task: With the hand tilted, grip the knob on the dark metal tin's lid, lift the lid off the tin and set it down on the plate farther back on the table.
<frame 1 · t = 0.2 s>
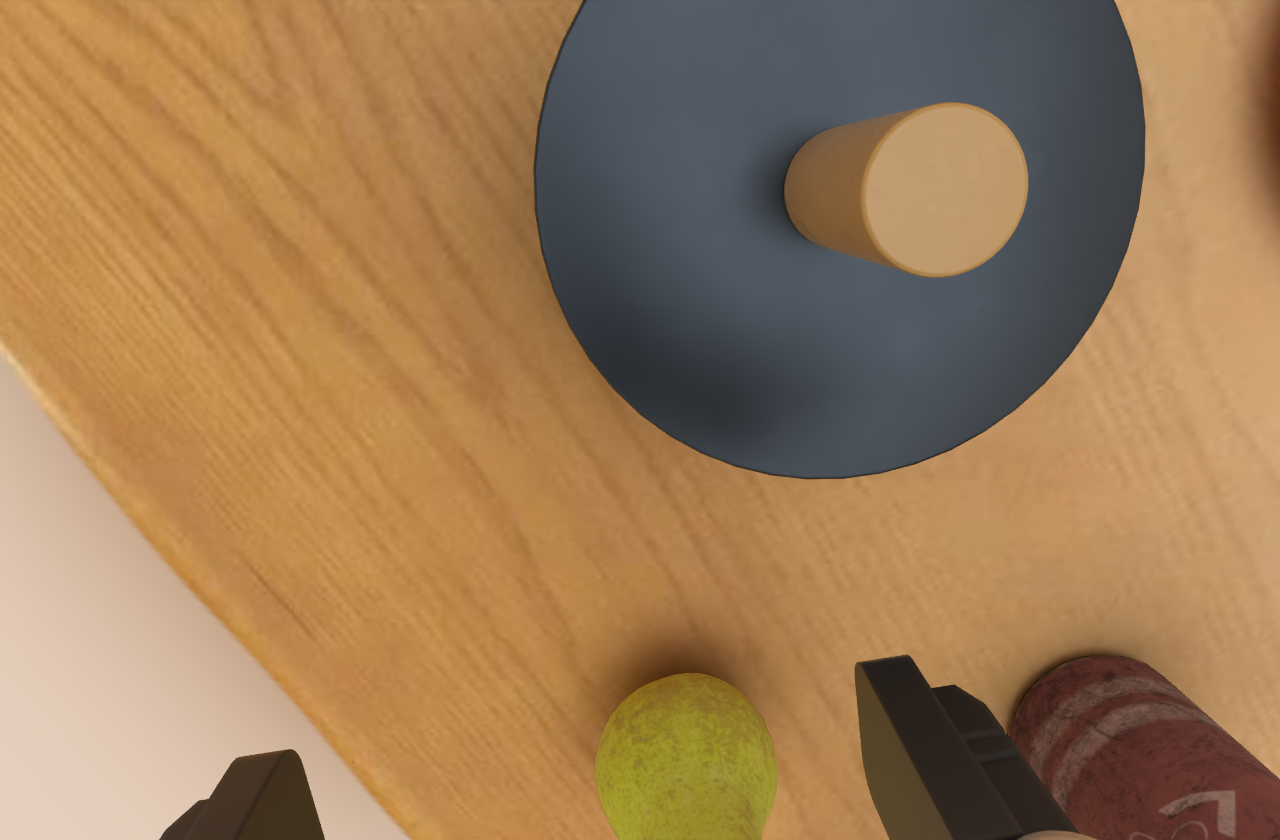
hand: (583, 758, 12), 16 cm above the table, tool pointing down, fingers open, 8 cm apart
can: (1084, 722, 32), on the table
lid: (835, 188, 18), point 8 cm above the table, touching tin
fruit: (678, 704, 31), on the table
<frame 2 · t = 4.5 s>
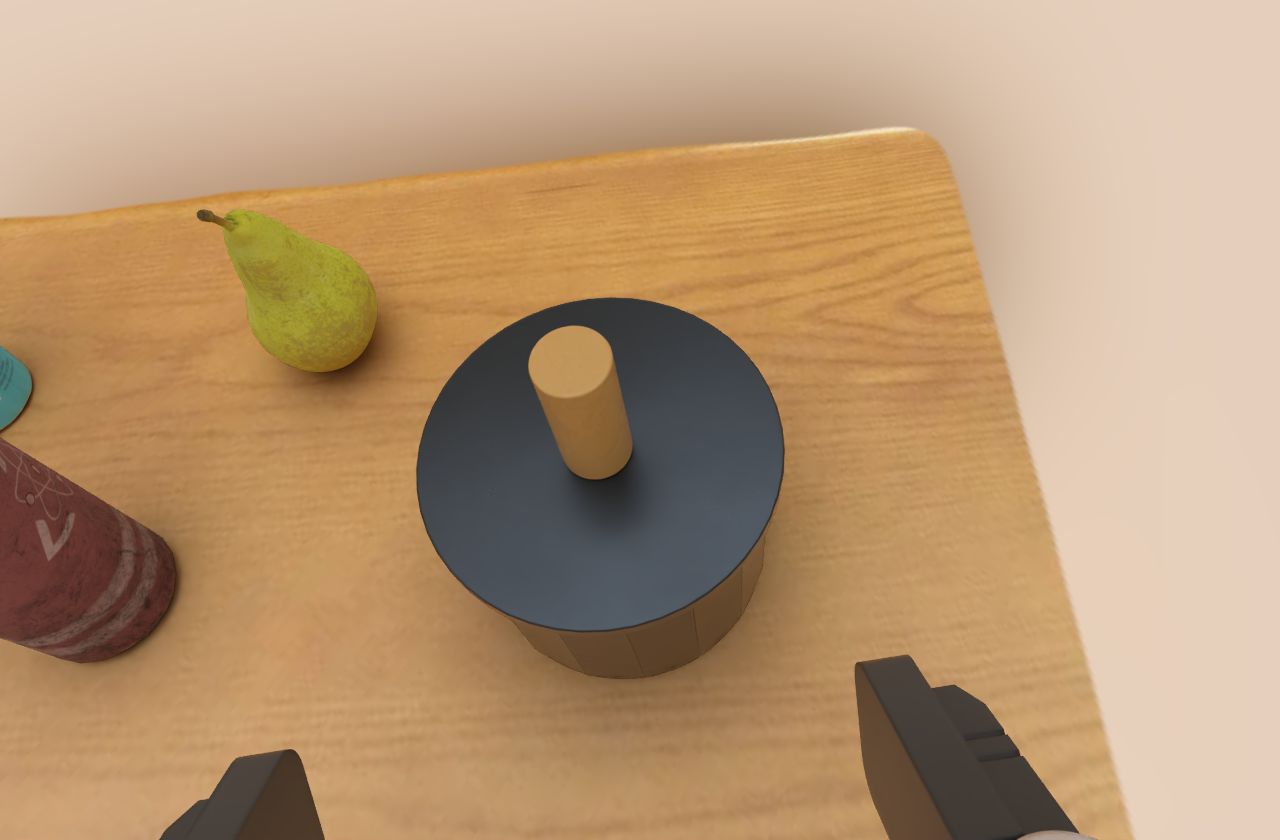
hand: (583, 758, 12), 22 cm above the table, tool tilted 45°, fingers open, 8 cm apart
tin: (626, 542, 37), on the table
can: (114, 596, 38), on the table
lid: (599, 455, 30), point 8 cm above the table, touching tin
fruit: (343, 348, 44), on the table
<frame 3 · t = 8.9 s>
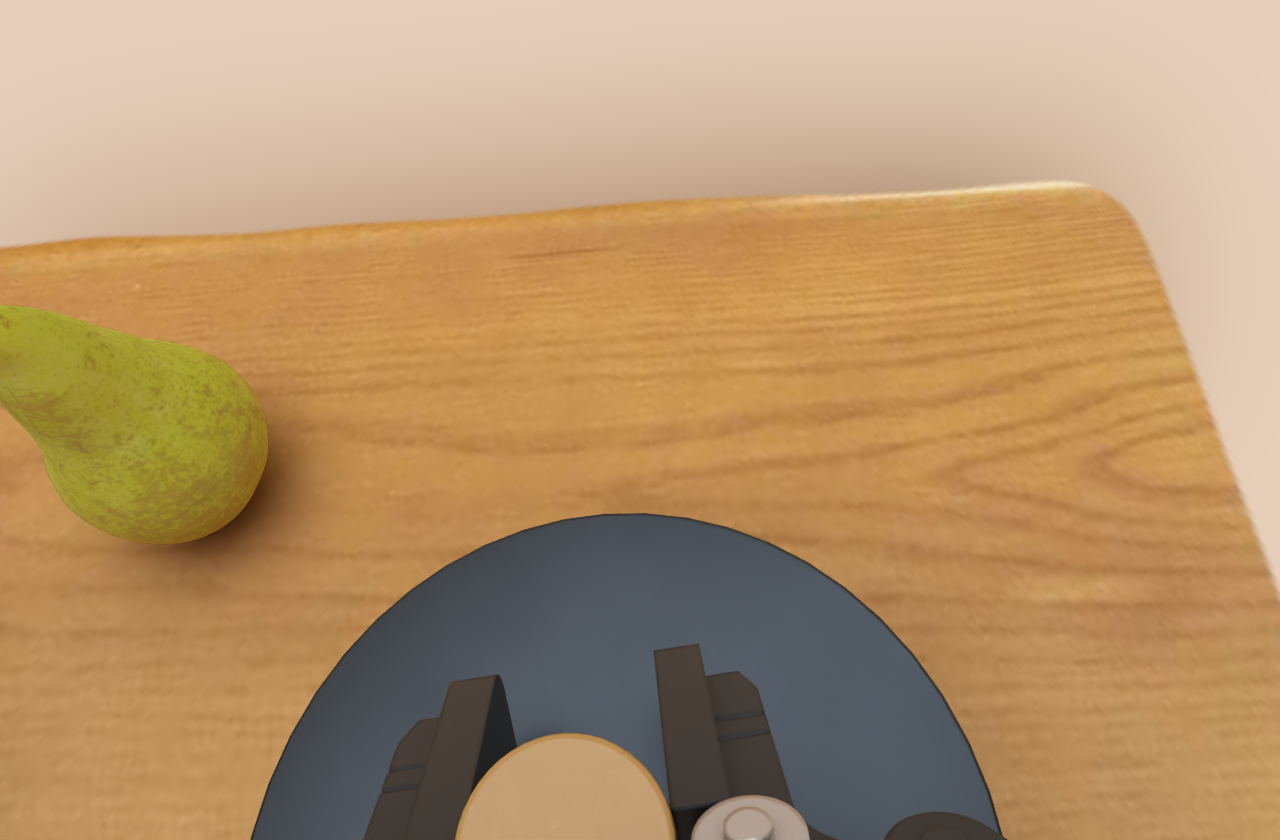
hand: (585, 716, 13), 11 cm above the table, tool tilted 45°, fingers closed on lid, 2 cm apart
fruit: (220, 493, 28), on the table
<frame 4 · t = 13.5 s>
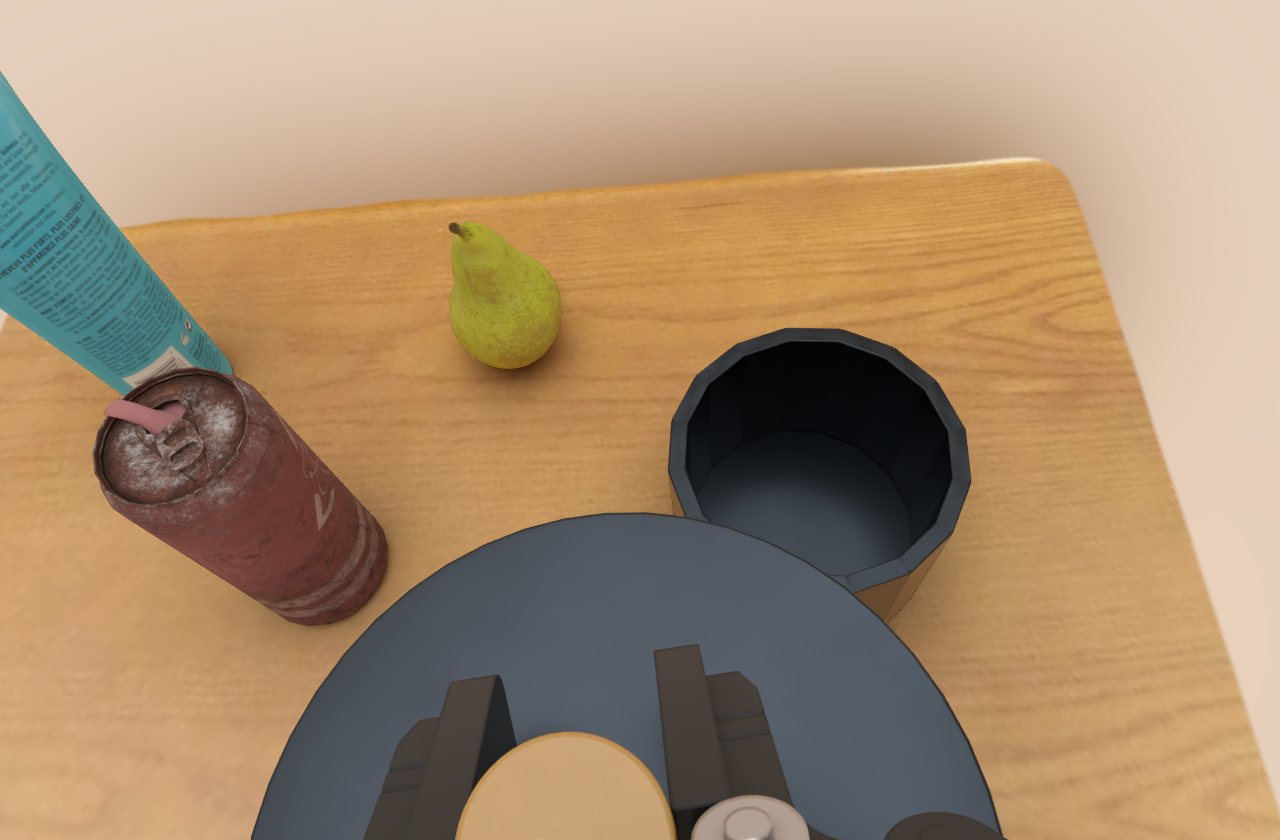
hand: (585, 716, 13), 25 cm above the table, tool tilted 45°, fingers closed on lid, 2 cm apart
tube: (190, 389, 48), on the table
tin: (799, 530, 41), on the table
can: (328, 567, 42), on the table
fruit: (520, 347, 48), on the table
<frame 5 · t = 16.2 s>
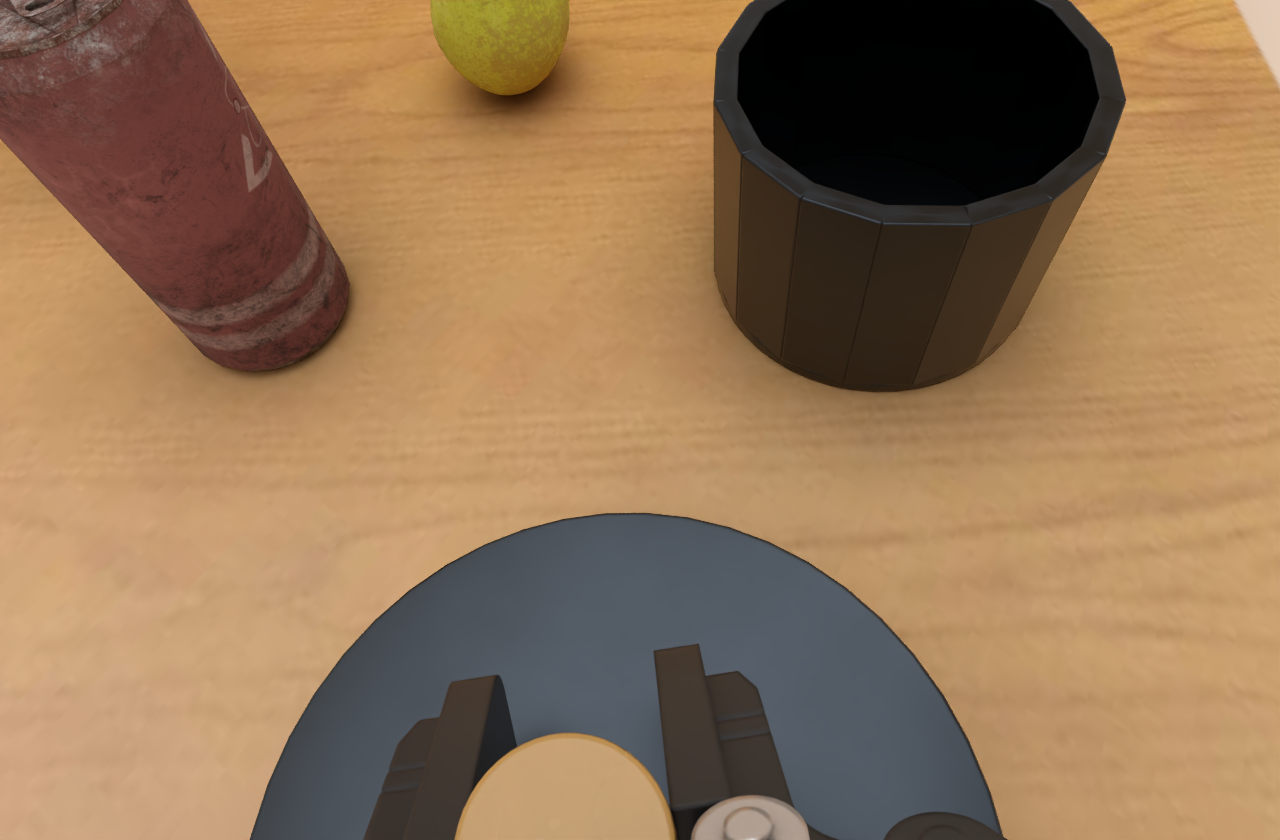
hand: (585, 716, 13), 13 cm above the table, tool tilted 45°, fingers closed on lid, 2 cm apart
tin: (867, 261, 33), on the table
can: (275, 313, 34), on the table
fruit: (517, 83, 39), on the table
when the fingers open (5 cm above the table, at t = 18.1 s): lid stays where it is, resting on plate.
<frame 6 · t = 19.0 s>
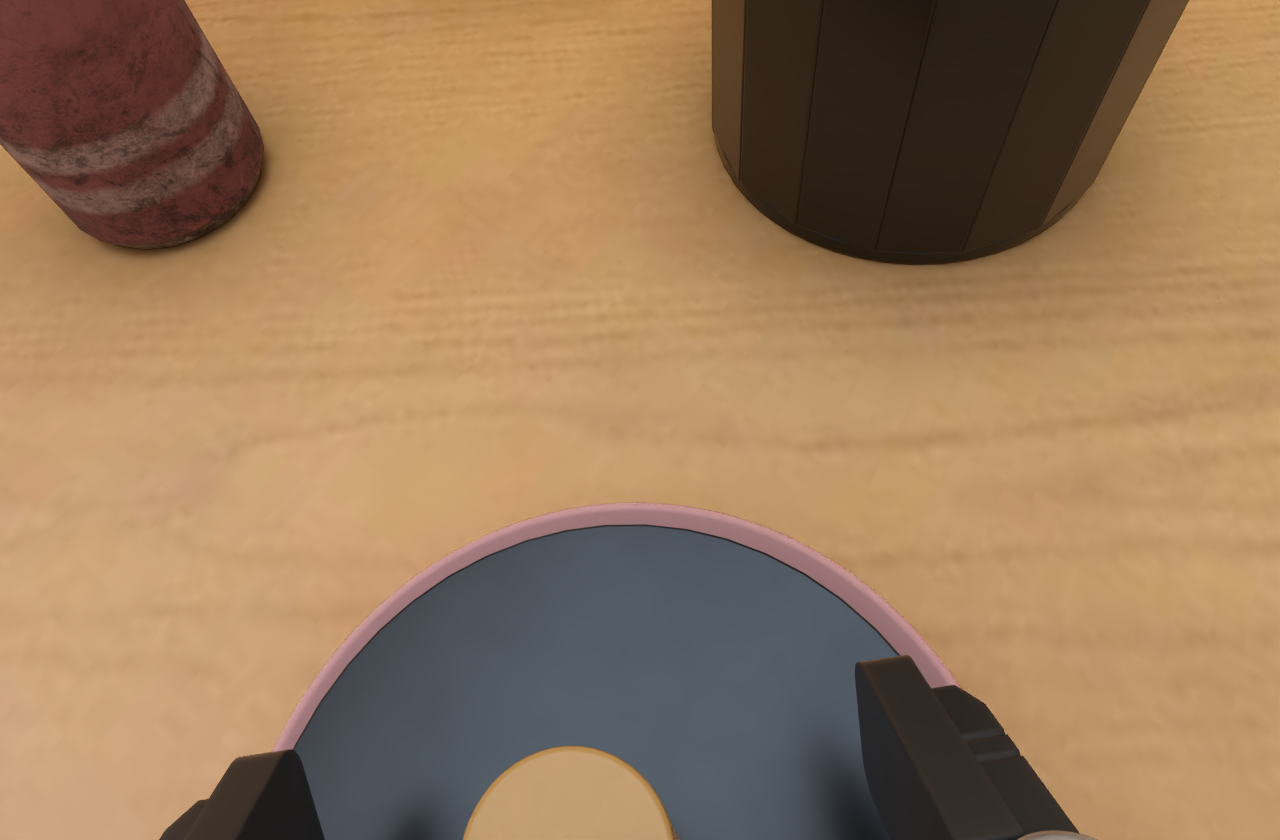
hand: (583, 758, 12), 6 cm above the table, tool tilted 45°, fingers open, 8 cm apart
tin: (901, 117, 26), on the table
can: (175, 186, 28), on the table
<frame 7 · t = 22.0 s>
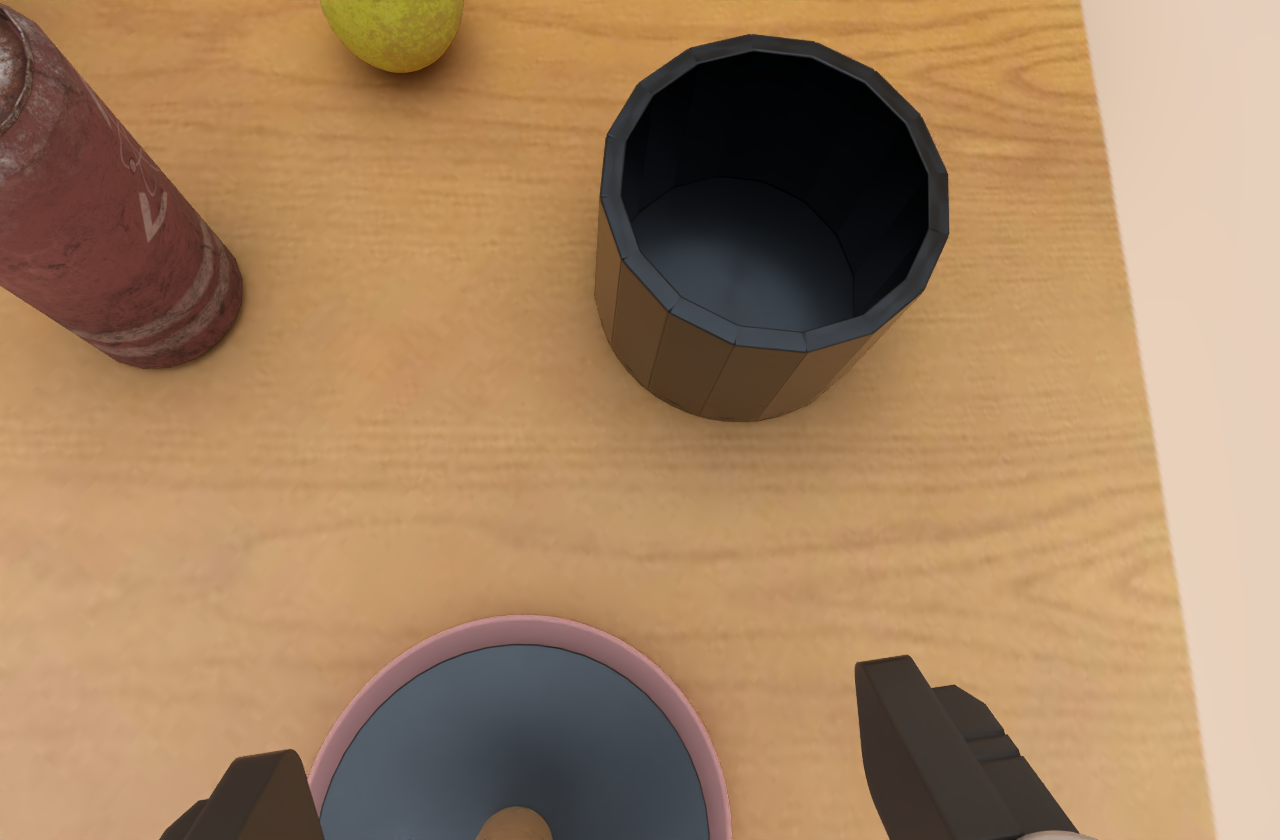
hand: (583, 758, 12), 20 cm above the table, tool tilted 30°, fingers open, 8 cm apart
tin: (732, 290, 36), on the table
can: (167, 301, 35), on the table
plate: (520, 825, 31), on the table, touching lid
fruit: (408, 50, 39), on the table
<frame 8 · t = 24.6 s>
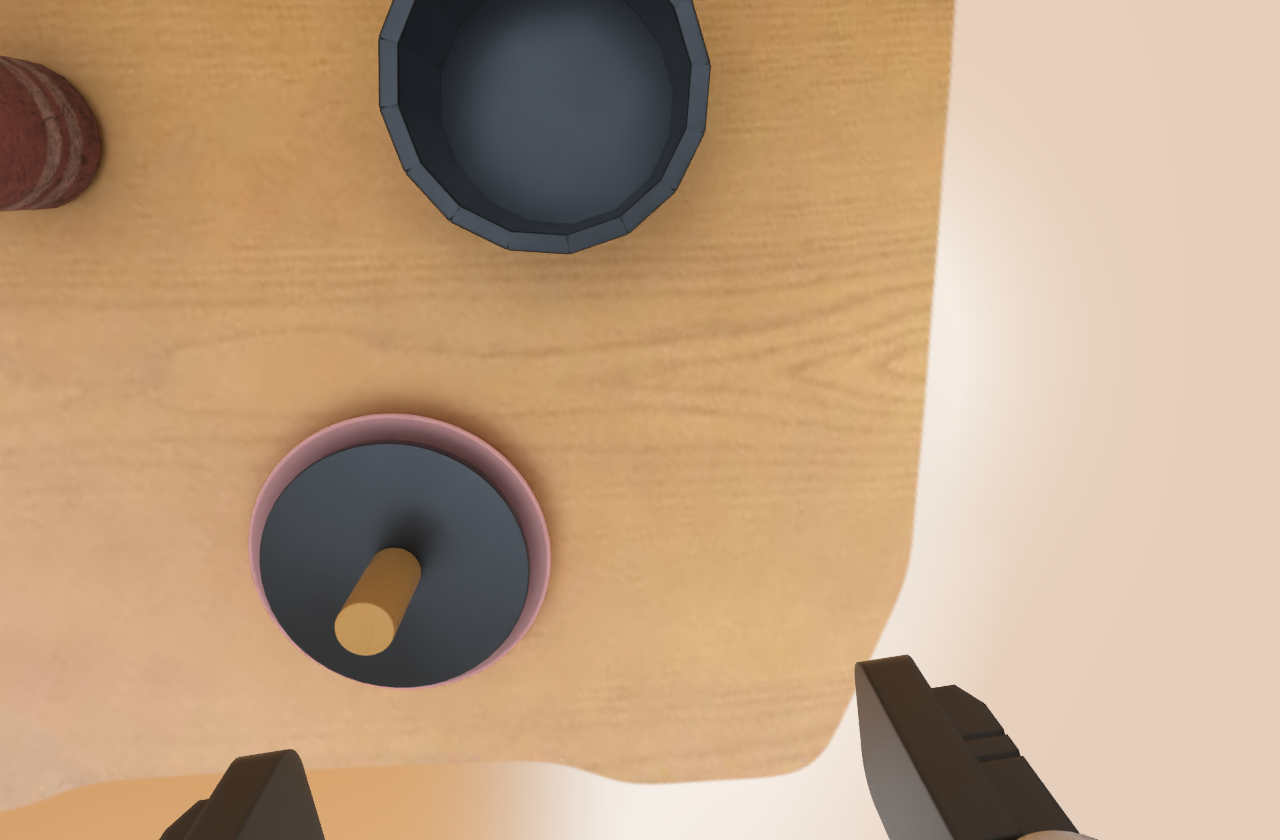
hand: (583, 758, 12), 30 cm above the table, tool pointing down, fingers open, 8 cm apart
tin: (557, 105, 38), on the table
can: (34, 136, 38), on the table
plate: (410, 540, 44), on the table, touching lid
lid: (398, 565, 41), point 3 cm above the table, touching plate
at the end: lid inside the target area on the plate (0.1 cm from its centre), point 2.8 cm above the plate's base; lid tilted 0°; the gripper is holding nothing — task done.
